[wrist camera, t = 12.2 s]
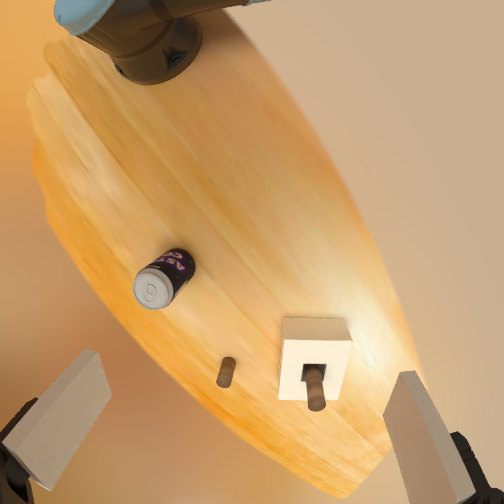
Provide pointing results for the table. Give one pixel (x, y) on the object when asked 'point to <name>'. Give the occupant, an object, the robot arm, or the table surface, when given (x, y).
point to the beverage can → (163, 279)
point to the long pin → (314, 387)
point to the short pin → (226, 372)
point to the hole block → (312, 355)
